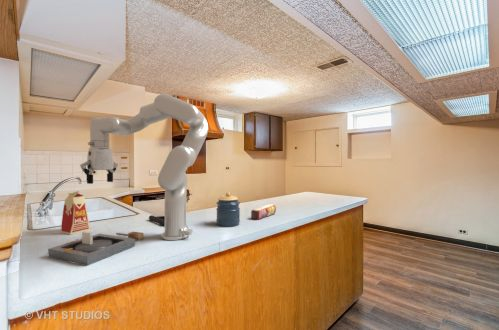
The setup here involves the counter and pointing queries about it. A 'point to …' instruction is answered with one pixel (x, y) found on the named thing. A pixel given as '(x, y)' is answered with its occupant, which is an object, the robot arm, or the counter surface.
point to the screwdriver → (134, 235)
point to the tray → (71, 255)
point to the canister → (228, 211)
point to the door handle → (158, 219)
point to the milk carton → (74, 215)
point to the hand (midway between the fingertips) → (100, 182)
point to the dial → (91, 243)
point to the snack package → (263, 211)
